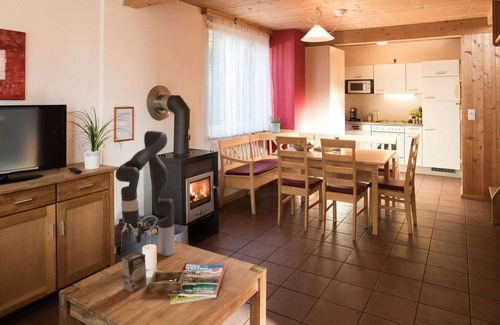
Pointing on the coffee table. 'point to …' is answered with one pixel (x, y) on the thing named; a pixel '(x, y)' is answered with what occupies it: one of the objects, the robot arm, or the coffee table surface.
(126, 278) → the coffee box
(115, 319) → the coffee table surface
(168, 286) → the walnut box
